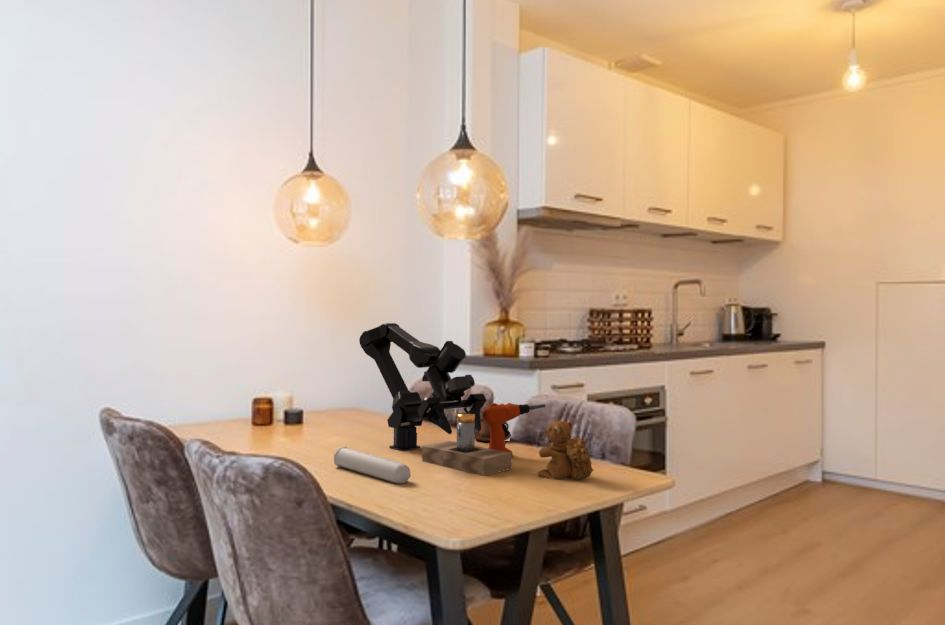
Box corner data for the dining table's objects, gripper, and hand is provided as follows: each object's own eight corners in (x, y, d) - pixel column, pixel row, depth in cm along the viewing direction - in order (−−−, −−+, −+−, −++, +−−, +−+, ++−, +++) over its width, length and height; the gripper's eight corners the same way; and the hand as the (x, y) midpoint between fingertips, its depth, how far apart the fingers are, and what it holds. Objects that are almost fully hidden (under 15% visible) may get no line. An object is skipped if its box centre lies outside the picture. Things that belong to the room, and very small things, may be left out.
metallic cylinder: (454, 466, 174) (454, 415, 174) (458, 462, 178) (459, 412, 178) (472, 467, 173) (472, 415, 173) (476, 463, 177) (476, 413, 177)
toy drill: (553, 450, 188) (547, 396, 188) (488, 462, 183) (481, 406, 183) (546, 446, 193) (541, 393, 192) (482, 458, 188) (476, 404, 187)
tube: (417, 465, 158) (353, 448, 175) (400, 461, 154) (336, 444, 172) (411, 488, 156) (347, 469, 174) (394, 485, 153) (330, 465, 170)
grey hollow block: (422, 461, 179) (422, 445, 179) (449, 455, 187) (449, 440, 187) (484, 475, 164) (484, 458, 164) (511, 469, 171) (511, 453, 171)
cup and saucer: (488, 435, 219) (488, 416, 219) (518, 440, 211) (519, 420, 211) (463, 440, 210) (464, 420, 210) (494, 445, 202) (494, 424, 202)
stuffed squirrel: (558, 469, 172) (559, 416, 172) (604, 479, 162) (605, 423, 162) (531, 475, 166) (532, 420, 166) (578, 486, 155) (578, 428, 155)
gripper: (424, 365, 174) (448, 415, 165) (483, 363, 185) (508, 409, 176) (407, 393, 180) (430, 442, 172) (465, 389, 192) (489, 435, 183)
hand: (465, 431), depth 175 cm, fingers open, 9 cm apart
